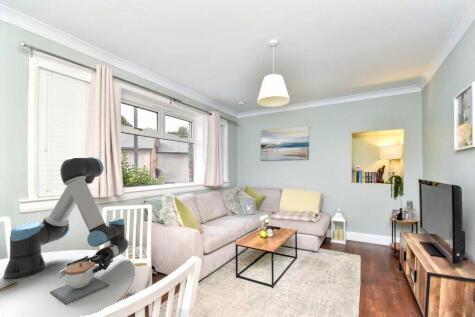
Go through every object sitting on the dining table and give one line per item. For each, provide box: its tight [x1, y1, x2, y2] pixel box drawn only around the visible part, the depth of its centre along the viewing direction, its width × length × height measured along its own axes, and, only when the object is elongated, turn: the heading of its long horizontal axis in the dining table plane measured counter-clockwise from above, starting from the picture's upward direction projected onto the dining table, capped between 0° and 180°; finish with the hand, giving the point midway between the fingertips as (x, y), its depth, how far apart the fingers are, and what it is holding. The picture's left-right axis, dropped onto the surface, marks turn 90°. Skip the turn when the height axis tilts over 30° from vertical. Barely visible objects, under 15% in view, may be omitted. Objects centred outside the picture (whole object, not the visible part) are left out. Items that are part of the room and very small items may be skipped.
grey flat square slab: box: [49, 276, 110, 306], centre depth 96 cm, size 16×16×1 cm
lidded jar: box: [64, 260, 96, 288], centre depth 97 cm, size 11×11×9 cm
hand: (73, 274), depth 93 cm, fingers closed on lidded jar, 11 cm apart
